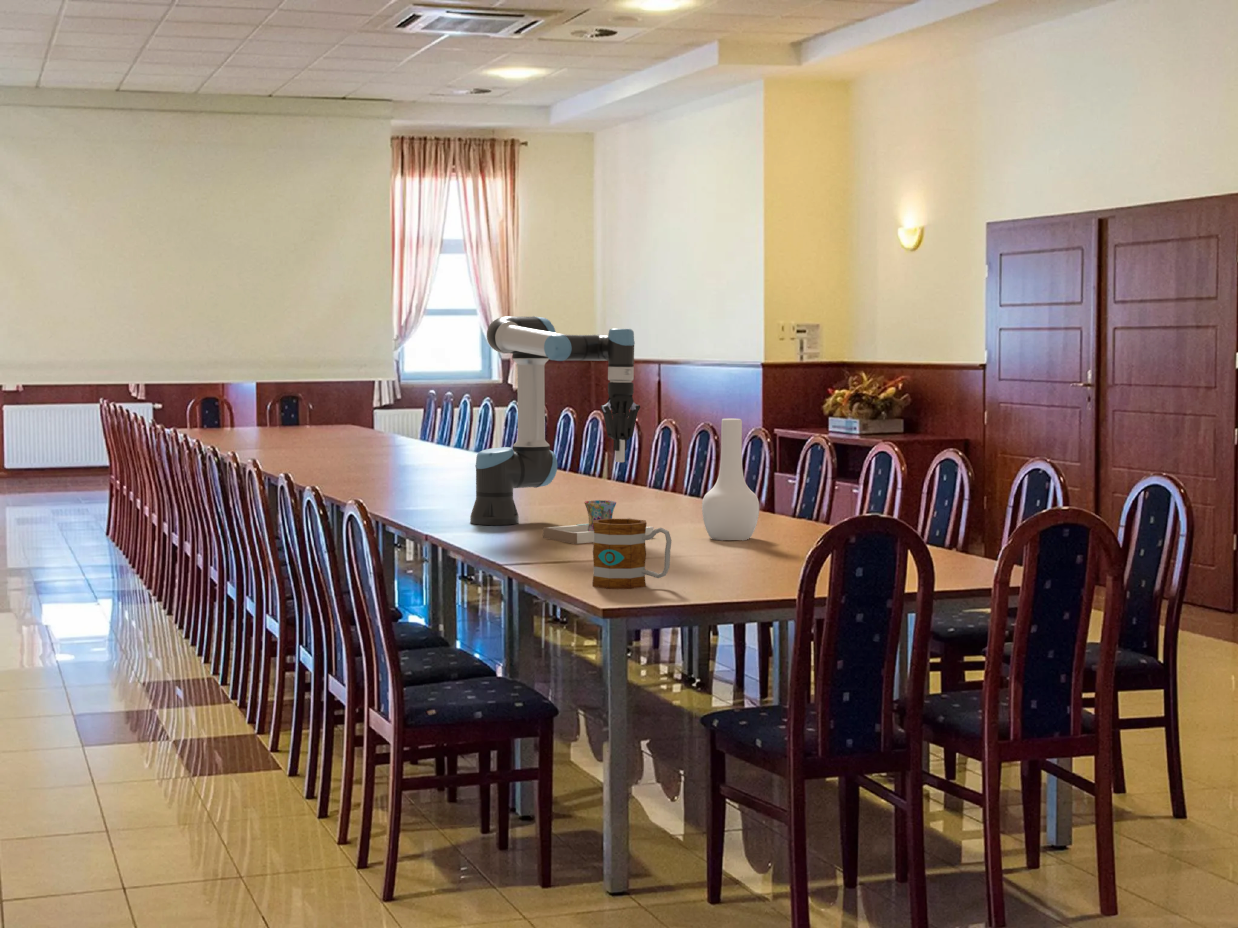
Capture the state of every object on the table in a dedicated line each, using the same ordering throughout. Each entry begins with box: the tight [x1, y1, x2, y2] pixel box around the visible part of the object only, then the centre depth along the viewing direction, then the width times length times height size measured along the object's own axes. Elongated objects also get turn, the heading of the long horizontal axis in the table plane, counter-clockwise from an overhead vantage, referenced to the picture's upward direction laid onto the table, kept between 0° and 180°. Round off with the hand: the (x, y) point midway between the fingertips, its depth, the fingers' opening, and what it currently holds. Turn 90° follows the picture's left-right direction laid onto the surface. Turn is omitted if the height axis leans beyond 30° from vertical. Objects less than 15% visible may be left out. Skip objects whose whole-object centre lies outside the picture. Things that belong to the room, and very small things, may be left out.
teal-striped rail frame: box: [542, 523, 655, 545], centre depth 465 cm, size 22×28×3 cm
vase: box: [701, 418, 760, 541], centre depth 464 cm, size 17×17×35 cm
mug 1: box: [584, 499, 617, 531], centre depth 464 cm, size 12×9×11 cm
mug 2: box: [592, 518, 673, 590], centre depth 374 cm, size 20×14×15 cm
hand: (619, 461), depth 468 cm, fingers closed
